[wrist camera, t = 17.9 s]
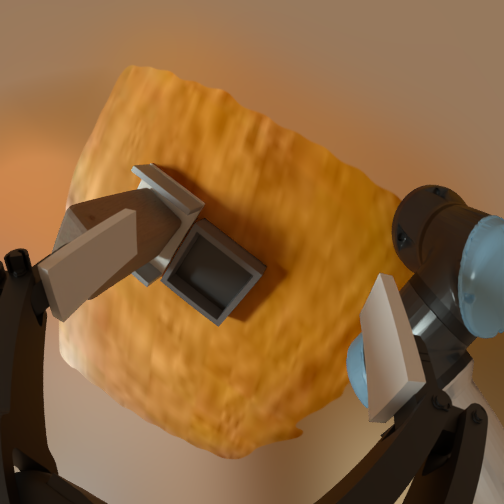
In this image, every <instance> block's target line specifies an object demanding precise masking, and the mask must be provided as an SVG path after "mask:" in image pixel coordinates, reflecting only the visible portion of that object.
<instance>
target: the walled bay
mask: <svg viewBox="0 0 504 504" xmlns="http://www.w3.org/2000/svg"><path fill="white" fill-rule="evenodd" d="M131 171H132V172H133V173H135V174H136V175H137V176H138V177H140V178H141V179H142V180H141V182H140V184H139V186H138V188H137V189H142V188H148V189H150V190H152V191H153V192H154V194H155V195H156V196H157V197H158V198H159V199H160V200H161V201H162V202H163V203H164V204H165V205H166V206H167V207H168V208H169V209H170V210H171V211H172V212H173V213H174V214H175V215H176V216H177V217H178V218H179V219H180V220H181V222H182V223H181V225H180V228H179V229H178V230H177V231H176V233H175V234H174V235H173V237H172V238H171V239H170V240H169V242H168V243H167V244H166V246H165V247H164V248H163V250H162V251H161V252H160V254H159V255H158V256H157V257H156V258H154V259H153V260H151V261H150V262H148V263H147V264H145V265H143V266H142V267H140V268H139V269H137V270H136V271H134V272H133V273H131V274H132V275H134V276H135V277H136V278H137V279H138V280H139V281H140V282H142V283H143V284H144V285H145V286H146V287H148V286H149V285H150V284H152V283H153V282H154V281H156V280H157V279H158V278H159V277H161V276H162V275H163V273H164V271H165V269H166V268H167V266H168V264H169V262H170V261H171V259H172V257H173V256H174V254H175V252H176V251H177V249H178V247H179V246H180V244H181V242H182V241H183V239H184V237H185V236H186V234H187V232H188V231H189V229H190V228H191V226H192V224H193V223H194V221H195V219H196V218H197V216H198V215H199V213H200V212H201V210H202V208H203V207H204V205H205V204H206V203H204V202H203V201H202V200H200V199H199V198H198V197H196V196H195V195H194V194H192V193H191V192H190V191H188V190H187V189H186V188H185V187H183V186H182V185H181V184H179V183H178V182H177V181H175V180H174V179H173V178H171V177H170V176H169V175H167V174H166V173H165V172H163V171H162V170H161V169H159V168H158V167H157V166H155V165H154V164H153V163H150V164H148V165H135V166H133V168H132V170H131Z"/></svg>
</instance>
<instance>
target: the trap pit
mask: <svg viewBox="0 0 504 504" xmlns="http://www.w3.org/2000/svg"><path fill="white" fill-rule="evenodd" d="M266 267H267V266H266V265H264V264H263V263H262V262H261V261H259V260H258V259H257V258H255V257H254V256H253V255H252V254H250V253H249V252H248V251H246V250H245V249H244V248H242V247H241V246H240V245H239V244H237V243H236V242H235V241H233V240H232V239H231V238H230V237H228V236H227V235H226V234H224V233H223V232H222V231H220V230H219V229H218V228H217V227H215V226H214V225H213V224H211V223H210V222H209V221H208V220H206V219H205V218H204V219H202V220H200V221H198V222H196V223H195V224H194V225H193V227H192V229H191V230H190V232H189V234H188V235H187V237H186V238H185V240H184V242H183V243H182V245H181V247H180V248H179V250H178V252H177V253H176V255H175V257H174V258H173V260H172V262H171V263H170V265H169V267H168V269H167V270H166V272H165V274H164V275H163V277H162V279H161V282H163V283H164V284H165V285H166V286H167V287H169V288H170V289H171V290H172V291H173V292H175V293H176V294H177V295H178V296H180V297H181V298H182V299H183V300H185V301H186V302H187V303H188V304H190V305H191V306H192V307H193V308H195V309H196V310H197V311H199V312H200V313H201V314H202V315H204V316H205V317H206V318H208V319H209V320H210V321H212V322H213V323H214V324H216V325H217V326H218V327H219V326H220V324H221V323H222V322H223V321H224V320H225V319H226V317H227V316H228V315H229V314H230V313H231V312H232V311H233V309H234V308H235V307H236V306H237V305H238V304H239V302H240V301H241V300H242V299H243V298H244V296H245V295H246V294H247V293H248V292H249V291H250V289H251V288H252V287H253V286H254V285H255V283H256V282H257V281H258V280H259V279H260V278H261V276H262V275H263V273H264V271H265V269H266Z"/></svg>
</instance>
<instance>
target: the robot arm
mask: <svg viewBox="0 0 504 504" xmlns="http://www.w3.org/2000/svg"><path fill="white" fill-rule="evenodd" d="M392 240H393V245H394V248H395V251H396V253H397V255H398V257H399V258H400V260H401V261H402V262H403V263H404V265H405V266H406V267H407V268H408V269H409V270H411V271H412V272H414V273H415V274H414V275H413V276H412V277H411V279H410V280H408V282H407V283H406V284H405V285H404V286H403V288H402V289H401V290H400V291H399V292H398V289H397V286H396V284H395V281H394V279H393V276H390V275H386V274H383V273H379V275H378V277H377V280H376V282H375V284H374V286H373V288H372V290H371V292H370V295H369V297H368V299H367V301H366V303H365V305H364V307H363V309H362V311H361V313H360V321H361V328H362V332H361V333H360V334H359V335H358V337H357V338H356V339H355V340H354V341H353V342H352V343H351V345H350V347H349V349H348V354H347V360H346V364H347V372H348V376H349V380H350V383H351V385H352V387H353V390H354V392H355V393H356V395H357V397H358V398H359V400H360V401H361V402H362V404H363V405H364V406H365V407H366V408H368V409H369V422H380V423H386V422H387V421H388V420H389V419H390V418H391V417H393V416H394V423H395V424H394V425H392V426H391V427H390V428H389V429H388V430H387V431H385V432H384V433H383V434H382V435H381V437H382V438H381V439H380V440H379V441H378V443H377V444H376V445H375V446H374V447H373V448H372V449H371V450H370V452H369V453H368V454H367V455H366V456H365V457H364V458H363V459H362V460H361V461H360V462H359V463H358V464H357V465H356V466H355V467H354V468H353V469H352V470H351V471H350V472H349V473H348V474H347V475H346V476H345V477H344V478H343V479H342V480H341V481H340V482H339V483H338V484H336V485H335V486H334V487H333V488H332V489H331V490H330V491H329V492H327V493H326V494H325V495H324V496H323V497H322V498H321V499H319V500H318V501H317V502H315V503H314V504H394V503H395V502H396V500H397V499H398V498H399V497H400V495H401V494H402V493H403V491H404V490H405V489H406V487H407V486H408V485H409V483H410V482H411V480H412V479H413V478H414V479H413V481H412V483H411V486H410V488H409V490H408V493H407V495H406V497H405V499H404V501H403V503H402V504H504V428H503V426H502V425H501V423H500V421H499V420H498V418H497V417H496V415H495V414H494V412H493V410H492V409H491V407H490V405H489V404H488V403H487V401H486V399H485V398H484V396H483V395H482V393H481V392H480V391H479V389H478V387H477V386H476V385H475V383H474V382H473V380H472V371H473V363H474V360H473V358H472V357H471V356H470V354H469V353H468V352H467V350H466V348H467V347H468V346H469V345H470V344H471V343H472V342H473V341H474V340H475V339H476V338H477V337H481V338H492V337H495V336H496V335H497V333H498V332H499V333H503V332H504V219H502V218H500V217H498V216H495V215H490V214H487V213H485V212H482V211H479V210H477V209H474V208H471V207H468V206H467V205H466V204H465V202H464V201H463V200H462V198H461V197H460V196H459V195H458V194H457V193H455V192H454V191H452V190H451V189H449V188H446V187H442V186H438V185H425V186H421V187H419V188H416V189H414V190H413V191H412V192H410V193H409V194H408V195H407V196H406V197H405V198H404V199H403V200H402V202H401V203H400V205H399V206H398V208H397V210H396V213H395V215H394V219H393V224H392ZM136 255H137V234H136V211H135V210H130V209H126V208H125V209H123V210H122V211H120V212H118V213H116V214H115V215H113V216H111V217H110V218H108V219H106V220H105V221H103V222H101V223H100V224H98V225H96V226H95V227H93V228H92V229H90V230H88V231H87V232H85V233H84V234H82V235H80V236H79V237H77V238H76V239H74V240H73V241H71V242H69V243H67V244H64V245H63V246H61V247H60V248H58V249H57V250H55V251H54V252H52V254H50V255H48V256H47V257H45V258H44V259H43V260H41V261H40V262H38V263H37V264H36V265H34V266H33V267H32V266H31V262H30V258H29V254H28V251H27V250H26V249H15V250H13V251H10V252H9V253H8V254H6V256H5V257H4V260H5V264H6V267H7V270H8V271H5V270H4V267H3V263H2V262H1V261H0V504H107V503H106V502H104V501H102V500H101V499H99V498H97V497H96V496H94V495H92V494H91V493H89V492H88V491H86V490H84V489H83V488H81V487H79V486H77V485H75V484H73V483H71V482H69V481H67V480H66V479H64V478H62V477H60V476H59V475H58V470H57V467H56V463H55V460H54V458H53V456H52V455H51V453H50V451H49V448H48V444H47V437H46V428H45V417H44V399H43V360H44V344H45V331H46V322H47V313H46V309H47V308H48V307H49V306H50V309H51V311H52V314H53V316H54V317H56V318H57V319H59V320H60V321H62V322H65V321H66V320H67V319H68V318H69V317H70V316H71V315H72V314H73V313H74V312H75V311H76V310H77V309H78V308H79V307H80V306H81V305H82V304H83V303H84V302H85V301H86V300H87V299H88V298H89V297H90V296H91V295H92V294H93V293H94V292H95V291H97V290H98V289H99V288H100V287H101V286H102V285H103V284H104V283H105V282H106V281H107V280H108V279H110V278H111V277H112V276H113V275H114V274H115V273H116V272H117V271H118V270H120V269H121V268H122V267H123V266H124V265H125V264H126V263H128V262H129V261H130V260H131V259H132V258H133V257H134V256H136ZM14 466H16V467H17V468H18V469H19V470H20V471H21V472H16V473H15V472H14Z"/></svg>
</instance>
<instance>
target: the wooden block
mask: <svg viewBox="0 0 504 504" xmlns="http://www.w3.org/2000/svg"><path fill="white" fill-rule="evenodd" d="M125 208H126V209H130V210H135V211H136V234H137V255H136V256H134V257H133V258H132V259H131V260H130V261H129V262H128V263H126V264H125V265H124V266H123V267H122V268H121V269H120V270H118V271H117V272H116V273H115V274H114V275H113V276H112V277H111V278H110V279H108V280H107V281H106V282H105V283H104V284H103V285H102V286H101V287H100V288H99V289H98V290H97V291H95V292H94V293H93V294H92V295H91V296H90V297H89V298H88V300H91V299H93V298H95V297H97V296H98V295H100V294H101V293H102V292H104V291H105V290H107V289H108V288H110V287H111V286H113V285H114V284H116V283H117V282H119V281H120V280H122V279H123V278H125V277H126V276H128V275H130V274H131V273H133V272H134V271H136V270H137V269H139V268H140V267H142V266H143V265H145V264H147V263H148V262H150V261H151V260H153V259H154V258H156V257H157V256H158V255H159V254H160V252H161V251H162V250H163V248H164V247H165V246H166V244H167V243H168V242H169V240H170V239H171V238H172V237H173V235H174V234H175V233H176V231H177V230H178V229H179V228H180V225H181V223H182V222H181V220H180V219H179V218H178V217H177V216H176V215H175V214H174V213H173V212H172V211H171V210H170V209H169V208H168V207H167V206H166V205H165V204H164V203H163V202H162V201H161V200H160V199H159V198H158V197H157V196H156V195H155V194H154V192H153V191H152V190H150V189H148V188H142V189H137V190H132V191H127V192H123V193H118V194H114V195H110V196H106V197H101V198H97V199H93V200H89V201H85V202H82V203H78V204H74V205H72V206H70V207H69V208H68V209H67V211H66V213H65V216H64V219H63V221H62V224H61V227H60V230H59V233H58V235H57V238H56V241H55V244H54V247H53V250H52V252H54V251H55V250H57V249H58V248H60V247H61V246H63V245H64V244H67V243H69V242H71V241H73V240H74V239H76V238H77V237H79V236H80V235H82V234H84V233H85V232H87V231H88V230H90V229H92V228H93V227H95V226H96V225H98V224H100V223H101V222H103V221H105V220H106V219H108V218H110V217H111V216H113V215H115V214H116V213H118V212H120V211H122V210H123V209H125Z"/></svg>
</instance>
